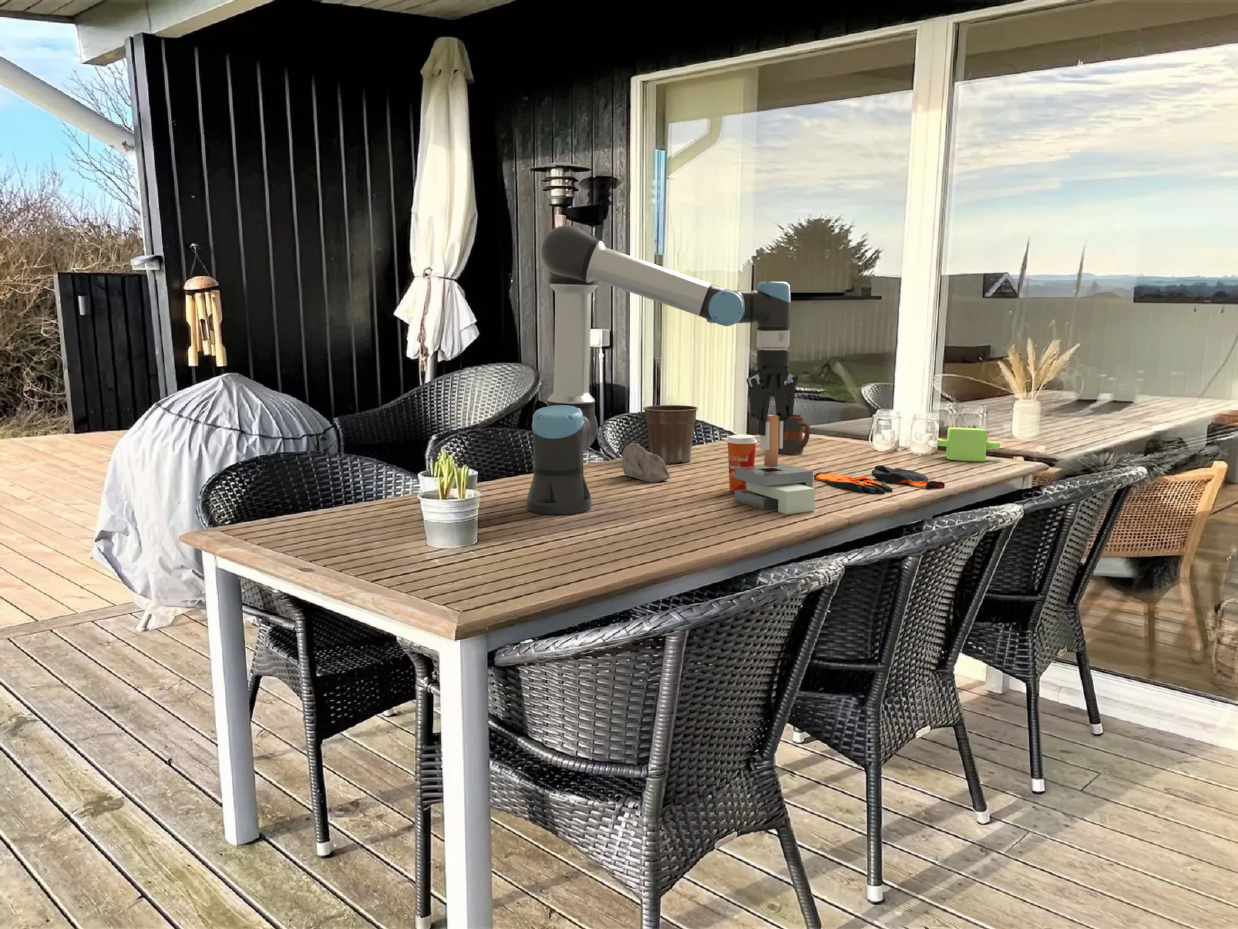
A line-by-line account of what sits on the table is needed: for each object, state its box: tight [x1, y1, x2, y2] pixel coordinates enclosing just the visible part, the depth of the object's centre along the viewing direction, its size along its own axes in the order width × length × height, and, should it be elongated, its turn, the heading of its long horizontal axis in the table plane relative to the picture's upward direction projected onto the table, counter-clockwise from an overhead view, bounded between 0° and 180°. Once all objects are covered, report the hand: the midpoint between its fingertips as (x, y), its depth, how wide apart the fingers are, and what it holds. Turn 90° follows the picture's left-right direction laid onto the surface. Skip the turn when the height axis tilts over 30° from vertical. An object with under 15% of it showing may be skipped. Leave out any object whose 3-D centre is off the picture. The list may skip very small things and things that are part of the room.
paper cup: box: [725, 434, 758, 494], centre depth 249 cm, size 8×8×14 cm
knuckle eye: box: [746, 482, 816, 515], centre depth 232 cm, size 8×16×5 cm, turn 27°
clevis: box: [733, 463, 814, 511], centre depth 236 cm, size 14×12×8 cm
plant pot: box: [643, 404, 699, 465], centre depth 294 cm, size 16×16×16 cm
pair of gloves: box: [813, 464, 945, 495], centre depth 260 cm, size 27×24×3 cm
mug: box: [778, 413, 811, 456], centre depth 308 cm, size 9×12×12 cm
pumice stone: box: [621, 442, 671, 483], centre depth 266 cm, size 15×8×10 cm, turn 38°
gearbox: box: [936, 427, 1001, 462], centre depth 297 cm, size 18×10×10 cm, turn 76°
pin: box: [763, 414, 779, 467], centre depth 234 cm, size 3×3×12 cm
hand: (771, 448), depth 234 cm, fingers closed on pin, 3 cm apart
